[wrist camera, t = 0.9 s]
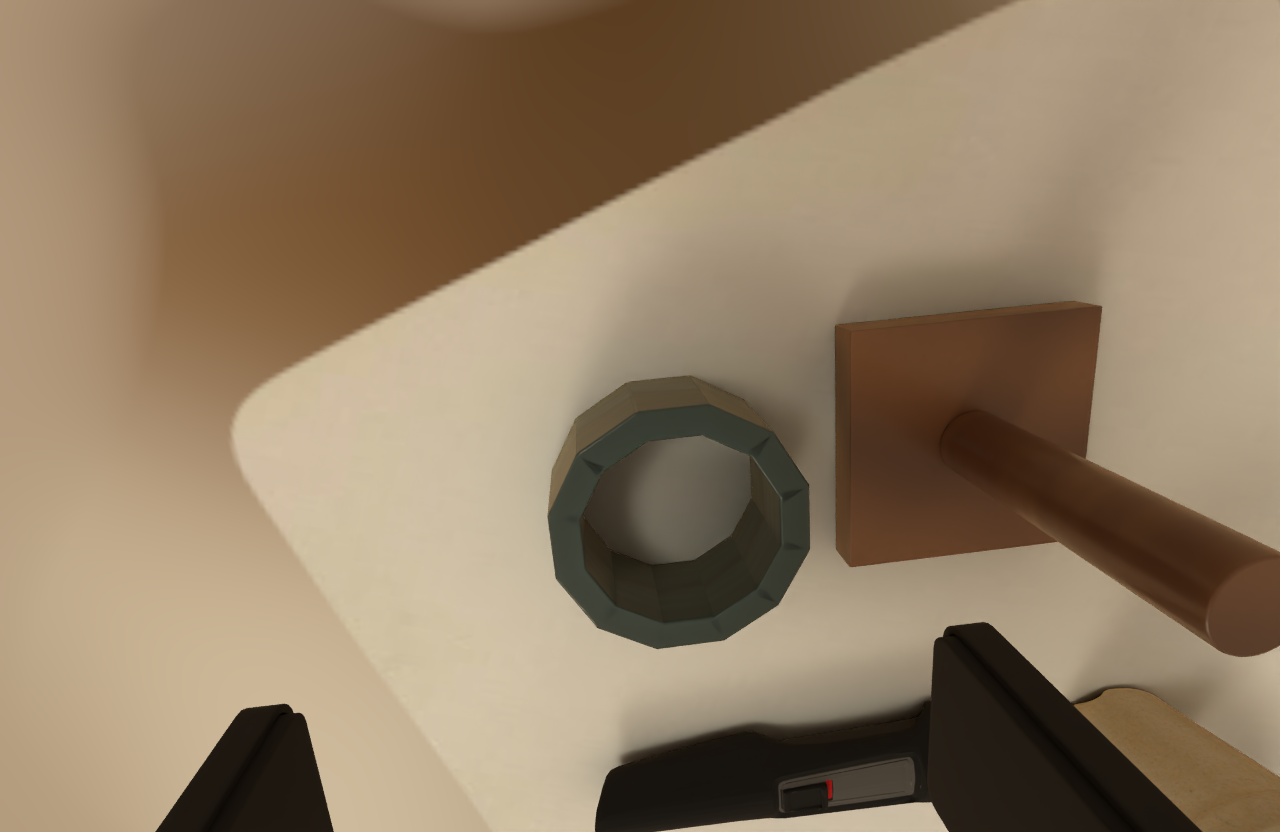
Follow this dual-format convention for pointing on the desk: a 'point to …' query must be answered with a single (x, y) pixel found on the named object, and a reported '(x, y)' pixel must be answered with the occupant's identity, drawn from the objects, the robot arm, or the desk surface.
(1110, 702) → the flower pot
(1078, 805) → the robot arm
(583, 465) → the ring
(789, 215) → the desk surface
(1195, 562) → the stand
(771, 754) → the electric trimmer
